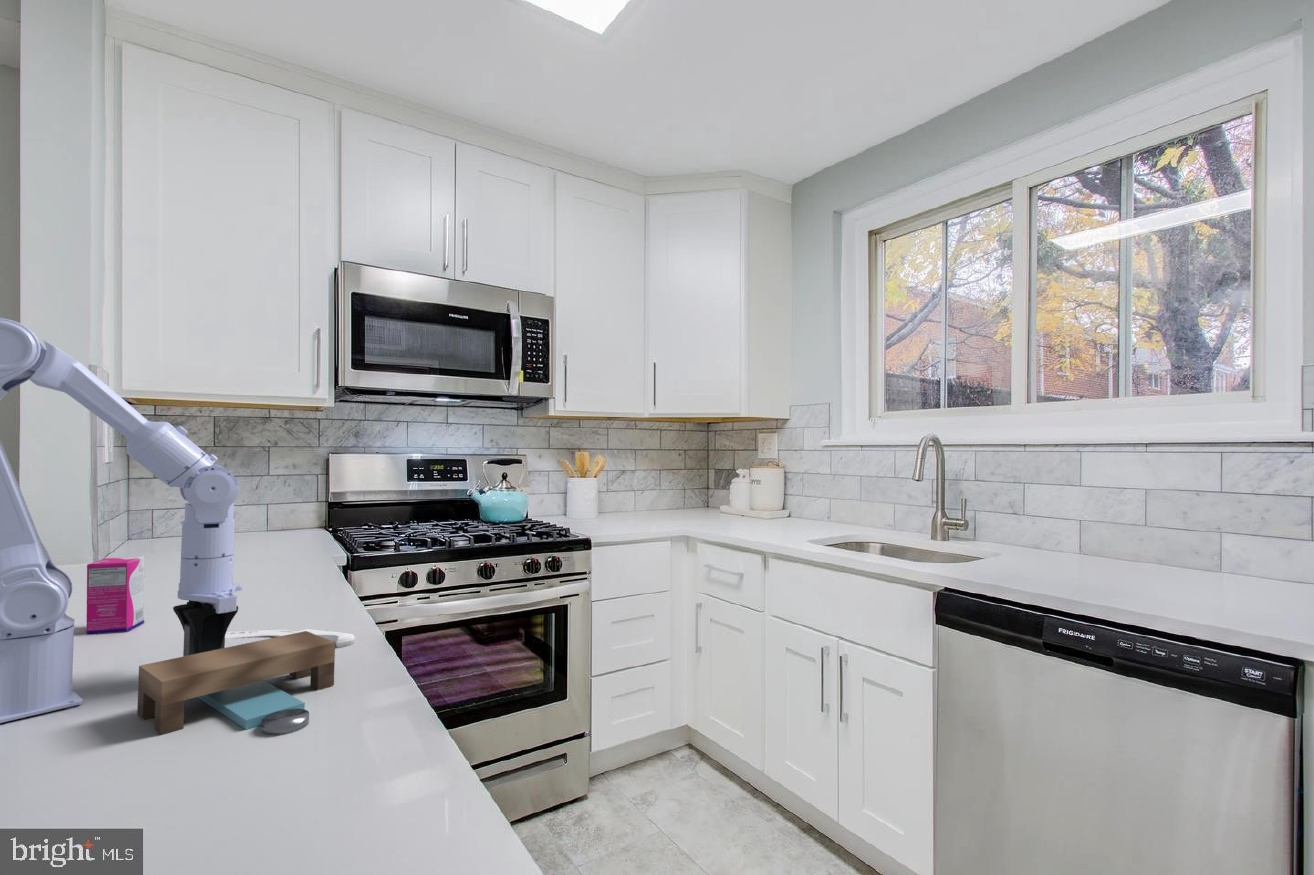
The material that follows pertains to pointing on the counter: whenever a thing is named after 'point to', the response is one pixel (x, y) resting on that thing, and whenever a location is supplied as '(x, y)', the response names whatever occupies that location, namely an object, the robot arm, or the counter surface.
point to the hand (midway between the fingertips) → (204, 658)
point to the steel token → (285, 722)
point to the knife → (336, 637)
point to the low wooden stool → (229, 673)
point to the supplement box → (115, 595)
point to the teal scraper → (245, 696)
